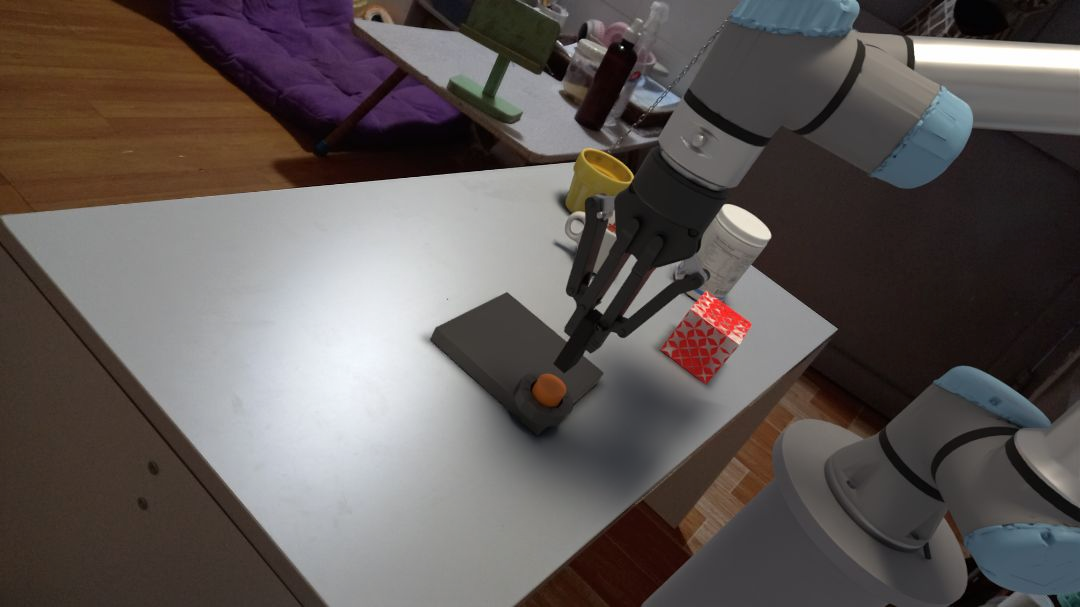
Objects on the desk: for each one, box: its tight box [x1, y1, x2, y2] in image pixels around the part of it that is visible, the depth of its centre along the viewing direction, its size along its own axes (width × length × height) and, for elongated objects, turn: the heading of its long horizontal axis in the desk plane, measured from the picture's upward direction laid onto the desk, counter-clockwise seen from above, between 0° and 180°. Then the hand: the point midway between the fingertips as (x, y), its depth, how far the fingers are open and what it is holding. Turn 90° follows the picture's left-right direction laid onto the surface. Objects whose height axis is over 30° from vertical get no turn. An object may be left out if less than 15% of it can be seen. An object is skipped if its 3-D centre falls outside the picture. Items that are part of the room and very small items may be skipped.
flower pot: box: [565, 147, 635, 214], centre depth 112 cm, size 10×10×10 cm
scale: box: [429, 291, 605, 436], centre depth 74 cm, size 17×15×4 cm
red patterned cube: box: [659, 291, 753, 385], centre depth 91 cm, size 8×8×8 cm
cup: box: [564, 211, 617, 275], centre depth 99 cm, size 11×8×8 cm
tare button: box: [532, 374, 566, 407], centre depth 67 cm, size 3×3×2 cm
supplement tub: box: [674, 203, 772, 302], centre depth 107 cm, size 10×10×15 cm
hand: (565, 363), depth 65 cm, fingers closed
